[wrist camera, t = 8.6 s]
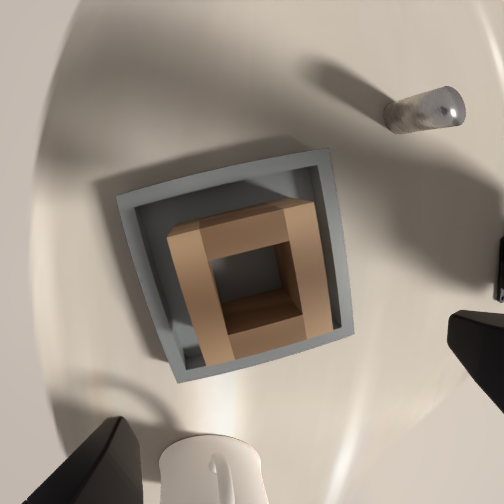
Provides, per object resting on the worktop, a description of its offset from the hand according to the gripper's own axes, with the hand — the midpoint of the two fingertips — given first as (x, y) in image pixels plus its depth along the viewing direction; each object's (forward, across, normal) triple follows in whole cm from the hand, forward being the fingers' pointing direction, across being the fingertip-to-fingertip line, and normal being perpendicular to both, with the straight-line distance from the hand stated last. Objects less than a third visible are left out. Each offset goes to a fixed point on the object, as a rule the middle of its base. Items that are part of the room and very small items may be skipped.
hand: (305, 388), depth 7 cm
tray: (+12, 0, 0) cm, 12 cm away
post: (+12, -12, -7) cm, 18 cm away
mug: (+12, +6, +15) cm, 20 cm away
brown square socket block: (+11, 0, 0) cm, 11 cm away
